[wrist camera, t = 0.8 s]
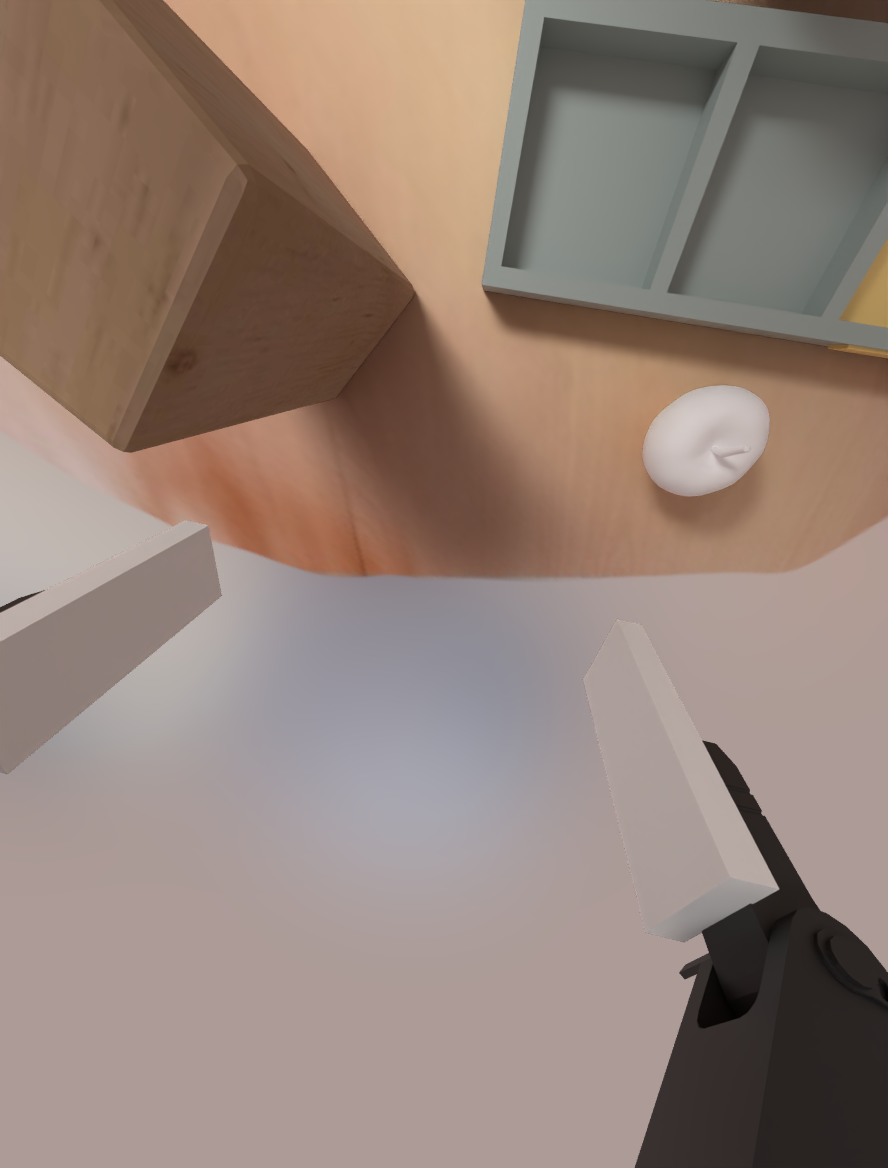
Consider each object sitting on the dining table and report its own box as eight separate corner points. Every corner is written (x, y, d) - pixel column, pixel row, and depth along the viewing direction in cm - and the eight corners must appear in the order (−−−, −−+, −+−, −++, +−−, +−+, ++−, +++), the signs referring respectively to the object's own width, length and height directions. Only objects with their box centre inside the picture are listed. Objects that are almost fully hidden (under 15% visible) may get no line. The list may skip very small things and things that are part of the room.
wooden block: (418, 293, 25) (254, 176, 9) (335, 401, 30) (122, 461, 13) (304, 144, 22) (-295, -480, 6) (230, 290, 27) (-221, 186, 10)
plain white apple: (750, 434, 27) (831, 460, 20) (658, 496, 30) (701, 536, 24) (705, 356, 25) (778, 356, 18) (611, 431, 28) (644, 456, 22)
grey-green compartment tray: (525, 21, 19) (529, -23, 17) (1161, 104, 18) (1253, 69, 15) (483, 294, 25) (481, 288, 23) (951, 370, 24) (996, 372, 22)
